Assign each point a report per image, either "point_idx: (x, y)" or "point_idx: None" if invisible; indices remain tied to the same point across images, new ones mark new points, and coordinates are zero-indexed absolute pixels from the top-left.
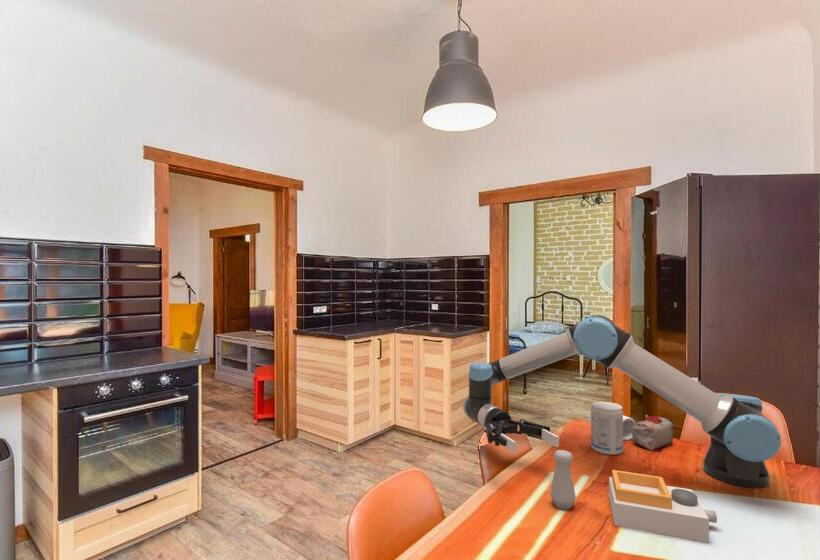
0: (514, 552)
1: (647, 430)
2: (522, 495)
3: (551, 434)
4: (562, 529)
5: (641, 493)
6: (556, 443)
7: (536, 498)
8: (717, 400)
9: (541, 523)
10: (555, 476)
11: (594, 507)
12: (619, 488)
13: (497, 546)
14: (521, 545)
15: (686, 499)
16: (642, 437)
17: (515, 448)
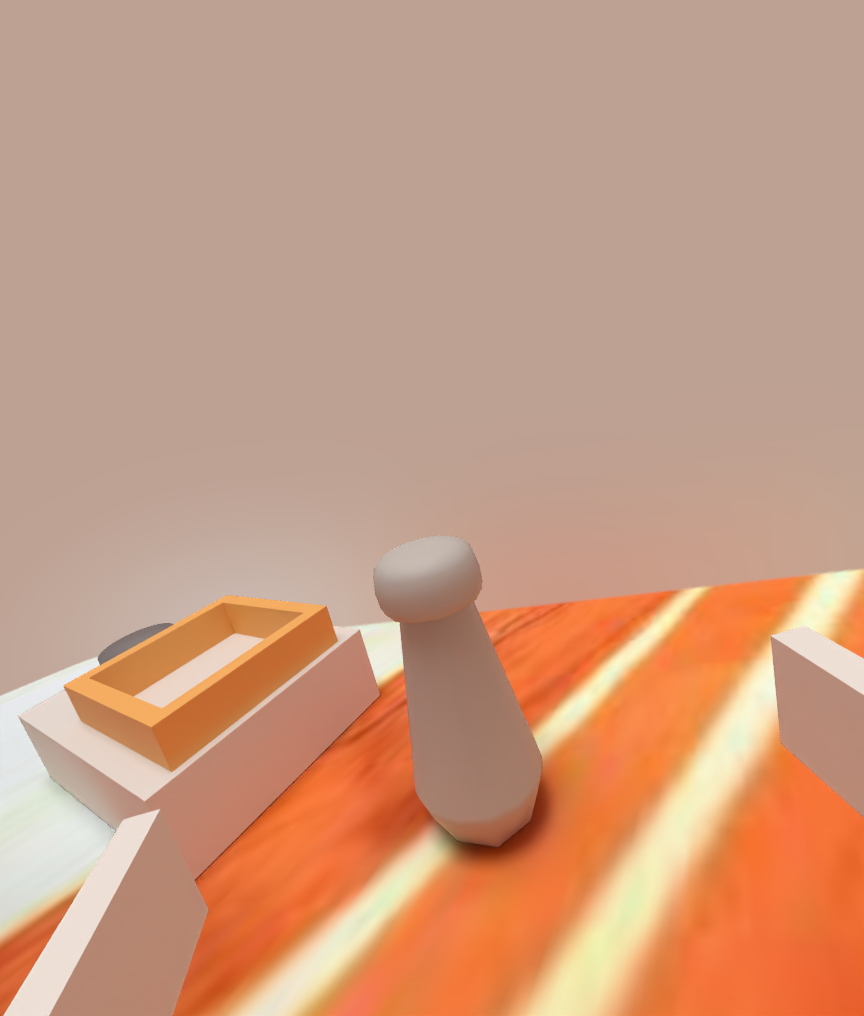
0: (750, 583)
1: None
2: (728, 935)
3: (100, 923)
4: (569, 666)
5: (276, 601)
6: (190, 878)
7: (621, 884)
8: None
9: (641, 686)
10: (499, 665)
11: (351, 791)
12: (312, 610)
13: (812, 591)
14: (728, 602)
15: (172, 624)
16: None
17: (784, 700)
